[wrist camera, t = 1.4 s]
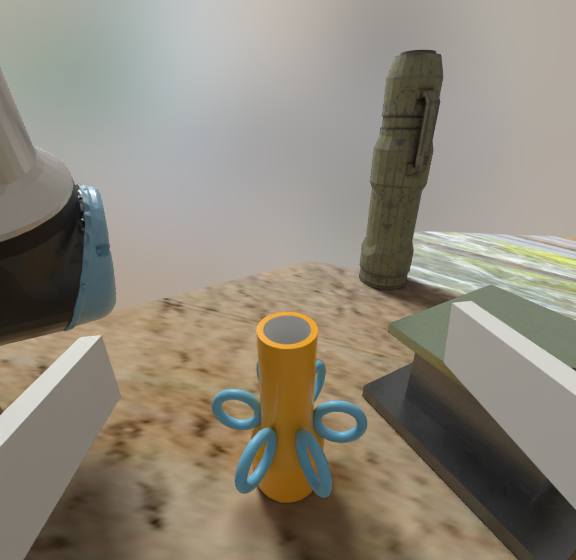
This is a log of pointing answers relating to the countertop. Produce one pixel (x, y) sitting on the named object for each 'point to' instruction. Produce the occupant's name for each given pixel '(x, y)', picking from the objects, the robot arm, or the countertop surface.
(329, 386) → the countertop surface
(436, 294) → the countertop surface
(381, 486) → the countertop surface
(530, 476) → the grey green pedestal stand
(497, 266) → the countertop surface
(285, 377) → the cylinder
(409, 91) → the thermos
